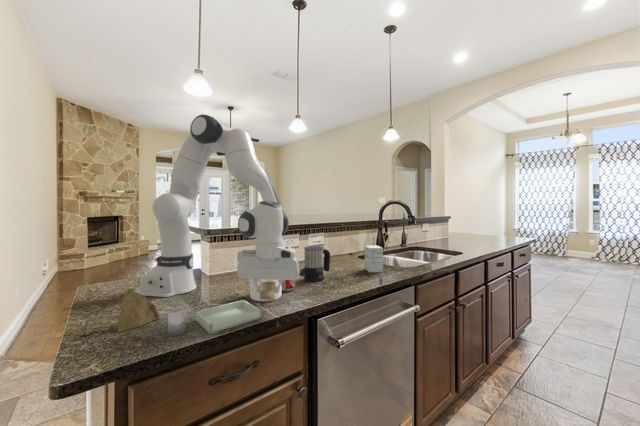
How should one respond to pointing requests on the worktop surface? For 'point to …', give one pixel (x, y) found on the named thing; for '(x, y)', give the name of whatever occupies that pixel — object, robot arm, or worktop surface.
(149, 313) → the rock
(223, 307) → the tray
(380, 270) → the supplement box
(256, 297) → the cup
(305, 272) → the milk frother
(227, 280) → the worktop surface
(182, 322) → the small clear glass
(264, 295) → the maple block
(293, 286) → the soda can
